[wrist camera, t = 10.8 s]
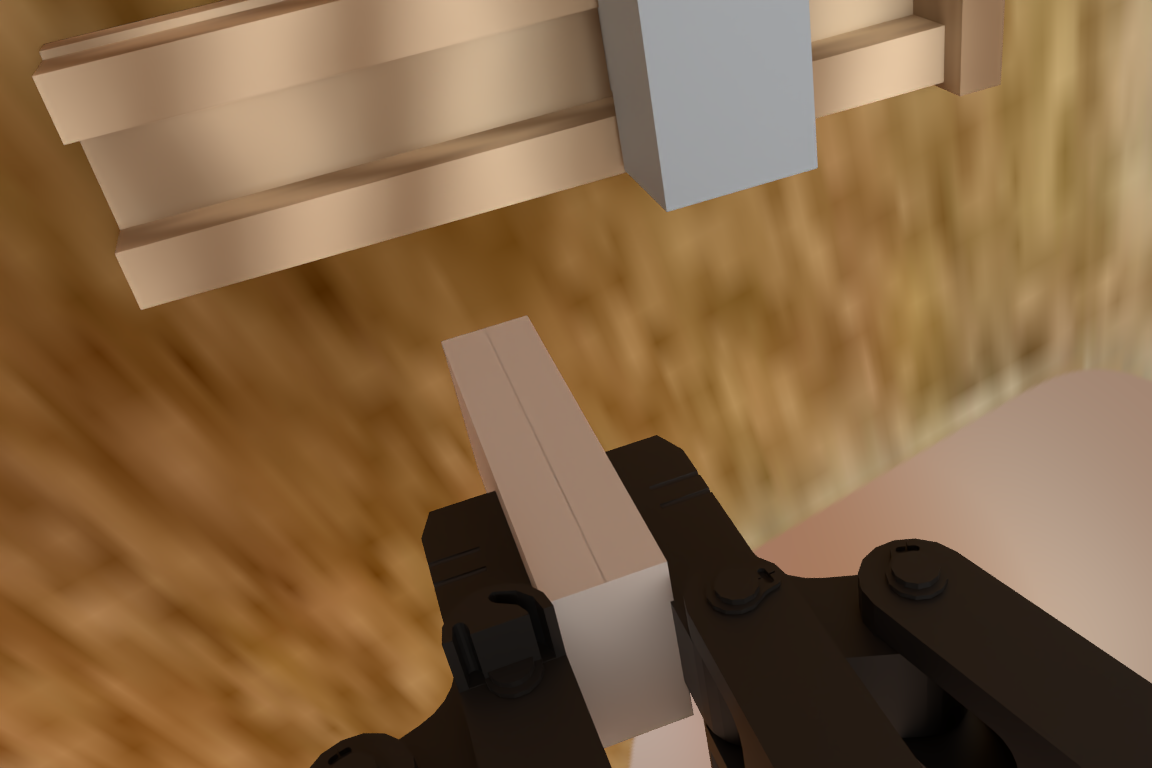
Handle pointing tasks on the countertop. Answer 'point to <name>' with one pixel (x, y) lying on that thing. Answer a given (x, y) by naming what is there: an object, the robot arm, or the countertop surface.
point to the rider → (710, 93)
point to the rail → (398, 115)
